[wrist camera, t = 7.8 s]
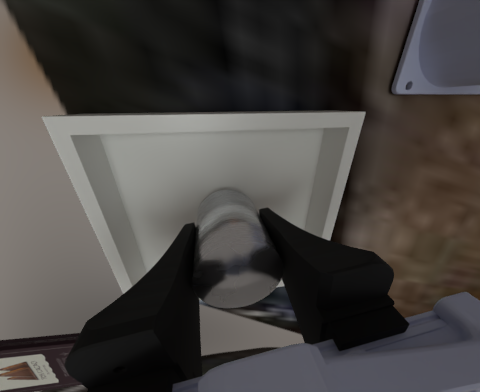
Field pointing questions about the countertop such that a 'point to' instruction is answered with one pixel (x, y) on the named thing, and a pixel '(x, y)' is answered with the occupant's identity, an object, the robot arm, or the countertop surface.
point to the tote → (200, 172)
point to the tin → (233, 252)
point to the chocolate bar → (36, 363)
